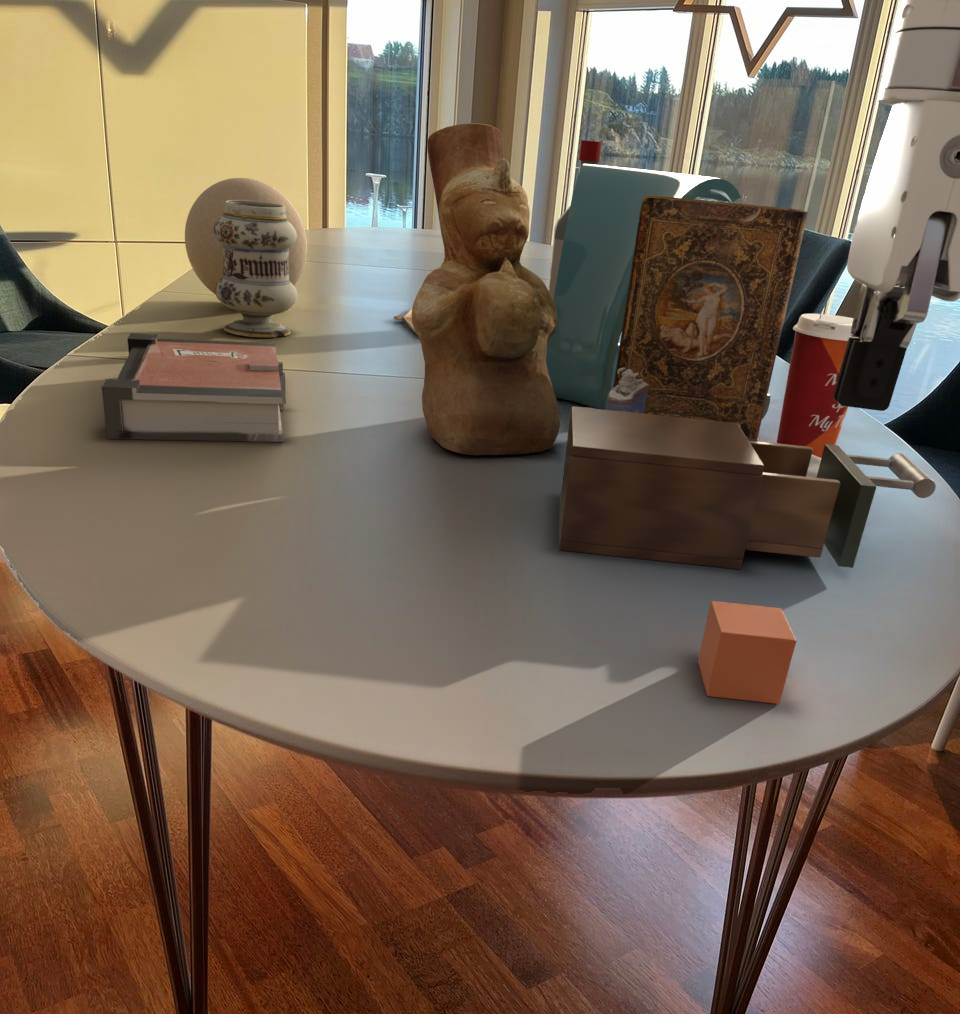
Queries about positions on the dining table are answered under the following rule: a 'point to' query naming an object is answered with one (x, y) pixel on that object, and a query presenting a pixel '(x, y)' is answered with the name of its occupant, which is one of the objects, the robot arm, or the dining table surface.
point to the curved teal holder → (605, 272)
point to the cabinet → (658, 488)
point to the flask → (628, 393)
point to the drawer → (821, 499)
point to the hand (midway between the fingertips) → (859, 404)
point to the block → (746, 652)
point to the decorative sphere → (211, 206)
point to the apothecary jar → (255, 266)
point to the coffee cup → (814, 383)
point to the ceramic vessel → (484, 307)
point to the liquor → (587, 155)
